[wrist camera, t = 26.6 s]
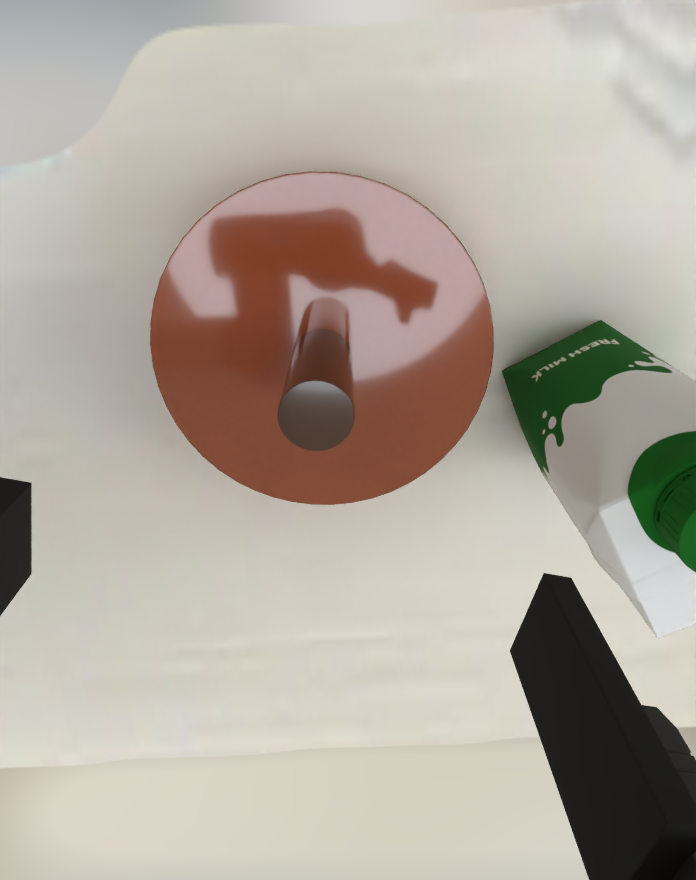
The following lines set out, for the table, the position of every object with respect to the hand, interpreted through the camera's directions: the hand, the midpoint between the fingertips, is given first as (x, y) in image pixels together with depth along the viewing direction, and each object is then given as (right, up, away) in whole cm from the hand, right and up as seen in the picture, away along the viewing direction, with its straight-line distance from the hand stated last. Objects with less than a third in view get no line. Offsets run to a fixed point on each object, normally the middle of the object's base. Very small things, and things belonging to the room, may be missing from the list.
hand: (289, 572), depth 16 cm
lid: (0, +8, +17) cm, 19 cm away
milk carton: (+17, +7, +26) cm, 31 cm away
